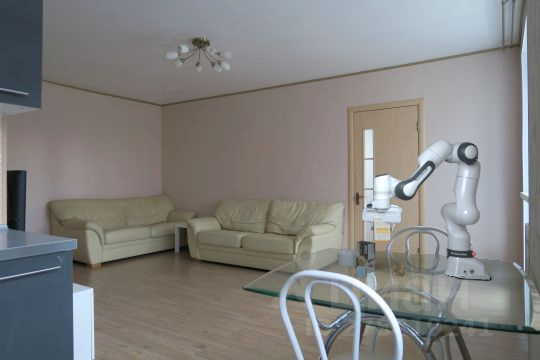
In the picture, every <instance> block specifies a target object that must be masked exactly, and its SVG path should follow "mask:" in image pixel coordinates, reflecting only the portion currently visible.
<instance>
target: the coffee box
mask: <svg viewBox="0 0 540 360" xmlns="http://www.w3.org/2000/svg"><path fill="white" fill-rule="evenodd" d="M355 243H356V245H355V246H356V247H355V248H356V249H355V250H356V266H355V268H356V267H357V266H363V267H367V273H372V272H376V242H375V241H374V242H372V241H368V240H359V241H356V242H355Z"/></svg>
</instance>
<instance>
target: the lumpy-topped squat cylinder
mask: <svg viewBox="0 0 540 360" xmlns="http://www.w3.org/2000/svg"><path fill="white" fill-rule="evenodd" d="M337 265H338V266H343V267H356V249H350V248H346V249H341V250H339V251H337Z"/></svg>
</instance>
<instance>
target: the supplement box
mask: <svg viewBox="0 0 540 360" xmlns="http://www.w3.org/2000/svg"><path fill="white" fill-rule="evenodd" d="M372 224H373V225H372V227H373V230H372V231H373V234H372V235H373V241H374V242H390V243H391V231H390V228H391V223H385V222H383V220H382V217H374V222H372Z"/></svg>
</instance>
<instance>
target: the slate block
mask: <svg viewBox="0 0 540 360" xmlns="http://www.w3.org/2000/svg"><path fill="white" fill-rule="evenodd" d="M366 276H367V277H368V272H367V267H363V266H357V267H356V266H355V278H358V277H362V278H361V279H367V277H366Z"/></svg>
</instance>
